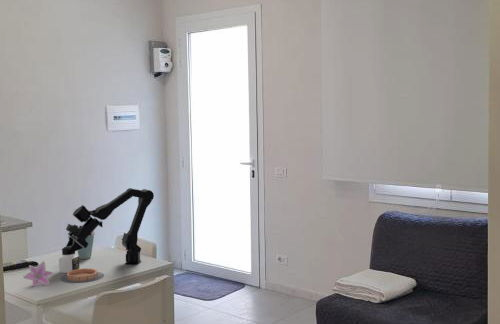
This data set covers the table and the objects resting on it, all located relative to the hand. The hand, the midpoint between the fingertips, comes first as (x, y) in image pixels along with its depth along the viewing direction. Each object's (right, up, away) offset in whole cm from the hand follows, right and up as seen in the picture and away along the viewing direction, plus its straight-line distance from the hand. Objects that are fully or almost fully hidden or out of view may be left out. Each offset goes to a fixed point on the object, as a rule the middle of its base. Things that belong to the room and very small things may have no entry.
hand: (65, 252), depth 290 cm
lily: (-6, -12, -21) cm, 25 cm away
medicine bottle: (+1, -10, +1) cm, 10 cm away
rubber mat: (+11, -11, -9) cm, 18 cm away
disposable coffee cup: (+1, -7, +30) cm, 31 cm away
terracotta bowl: (+11, -10, -9) cm, 17 cm away
